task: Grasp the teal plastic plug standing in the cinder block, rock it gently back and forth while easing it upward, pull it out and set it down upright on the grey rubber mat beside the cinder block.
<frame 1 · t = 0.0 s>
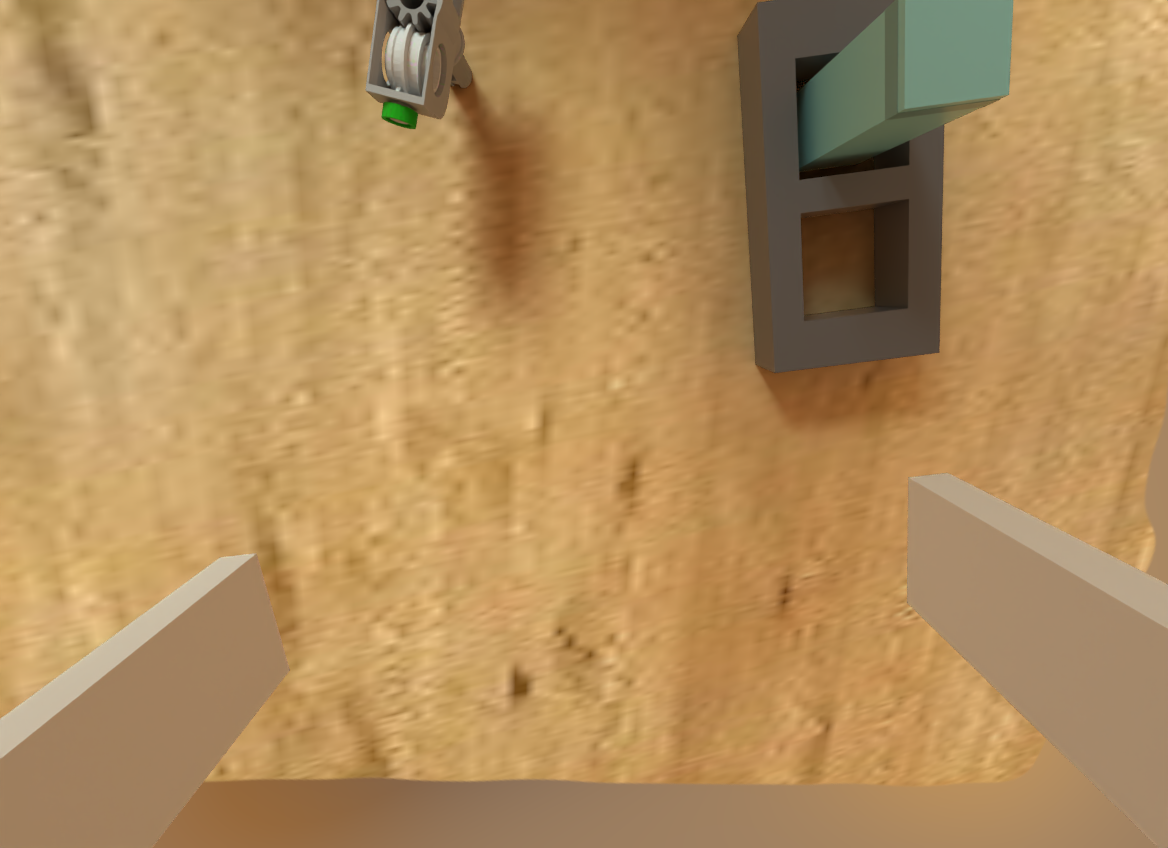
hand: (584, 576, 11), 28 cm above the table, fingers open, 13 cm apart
mechanical component: (459, 76, 34), on the table
plug: (823, 132, 35), resting in cinder block
cinder block: (825, 200, 36), on the table
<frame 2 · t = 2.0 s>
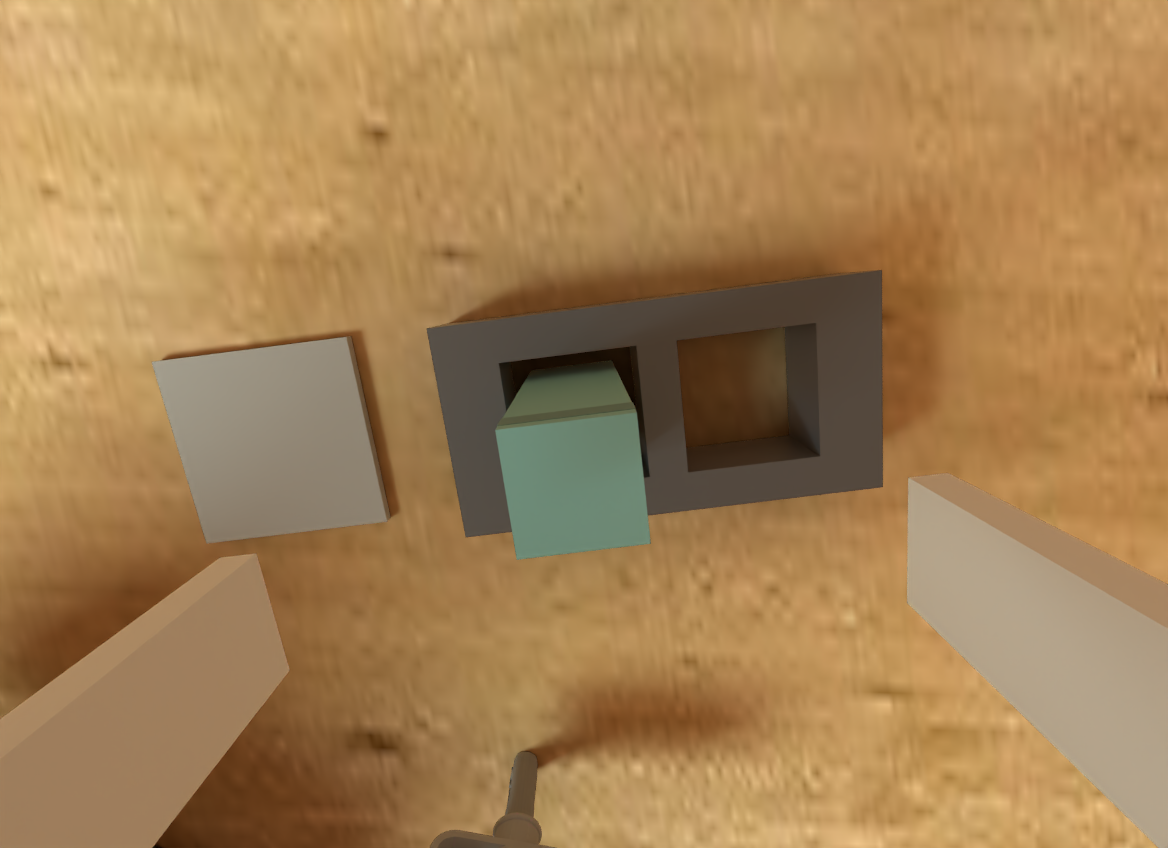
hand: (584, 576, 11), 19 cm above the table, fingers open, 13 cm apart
mechanical component: (526, 759, 35), on the table
plug: (576, 404, 30), resting in cinder block
cinder block: (651, 395, 30), on the table
mat: (279, 441, 30), on the table
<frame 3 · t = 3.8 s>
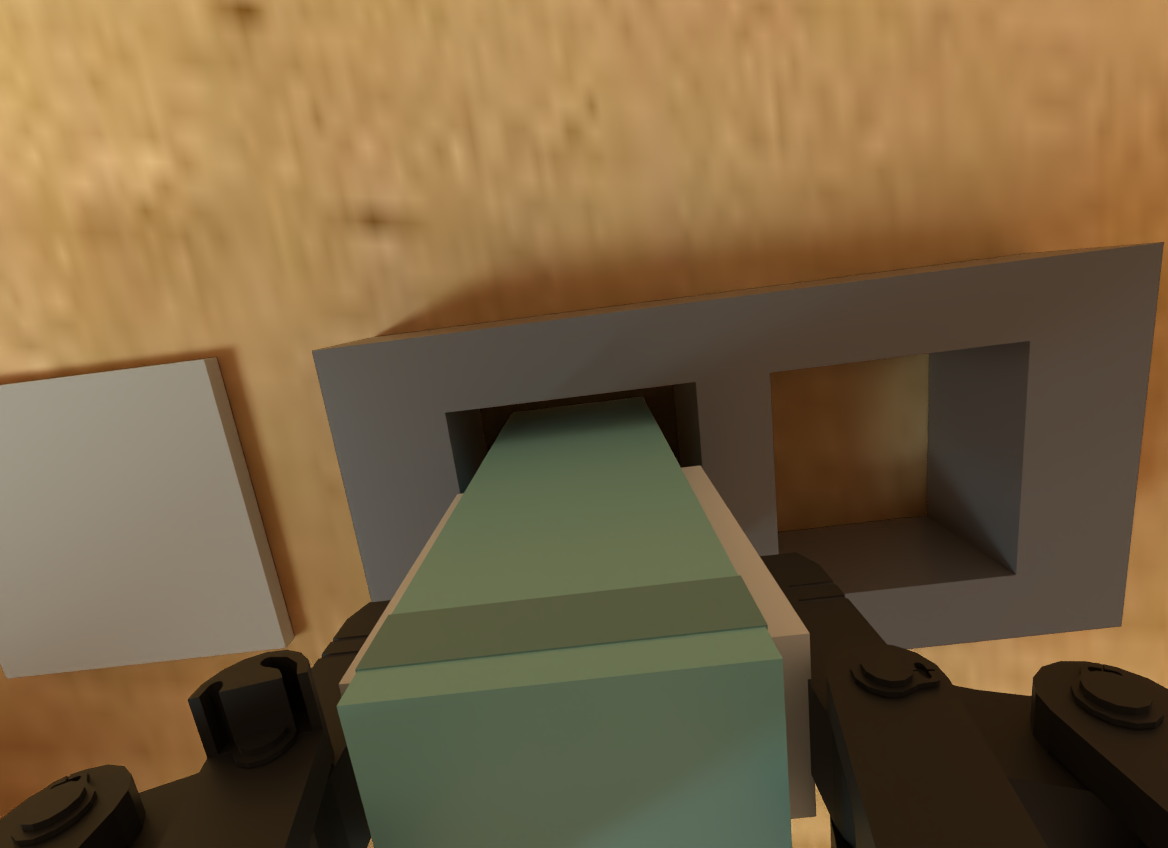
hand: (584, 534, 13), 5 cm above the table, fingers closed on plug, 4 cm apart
plug: (585, 466, 18), resting in cinder block, touching gripper
cinder block: (707, 452, 18), on the table
mat: (113, 523, 19), on the table
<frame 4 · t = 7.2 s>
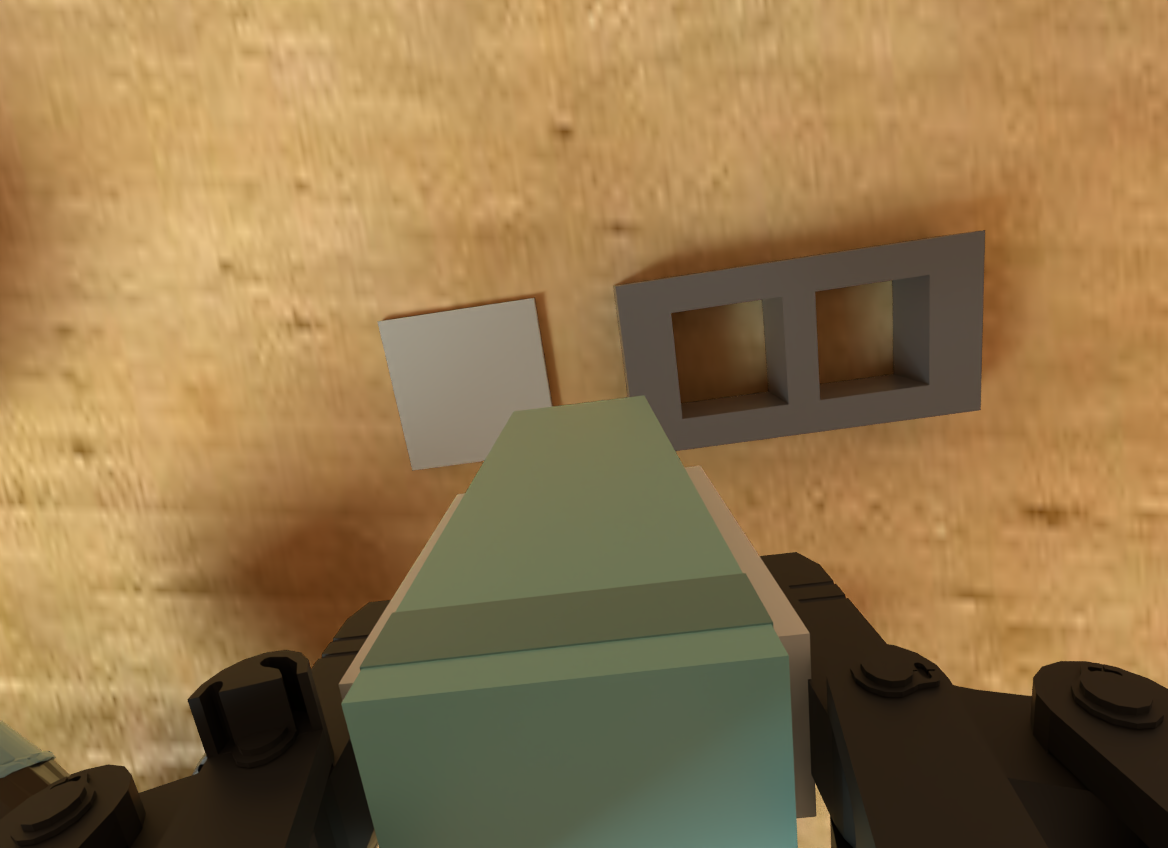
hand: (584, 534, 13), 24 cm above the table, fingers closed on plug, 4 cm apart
plug: (586, 465, 18), point 19 cm above the table, touching gripper
cinder block: (779, 342, 36), on the table
mat: (472, 386, 37), on the table
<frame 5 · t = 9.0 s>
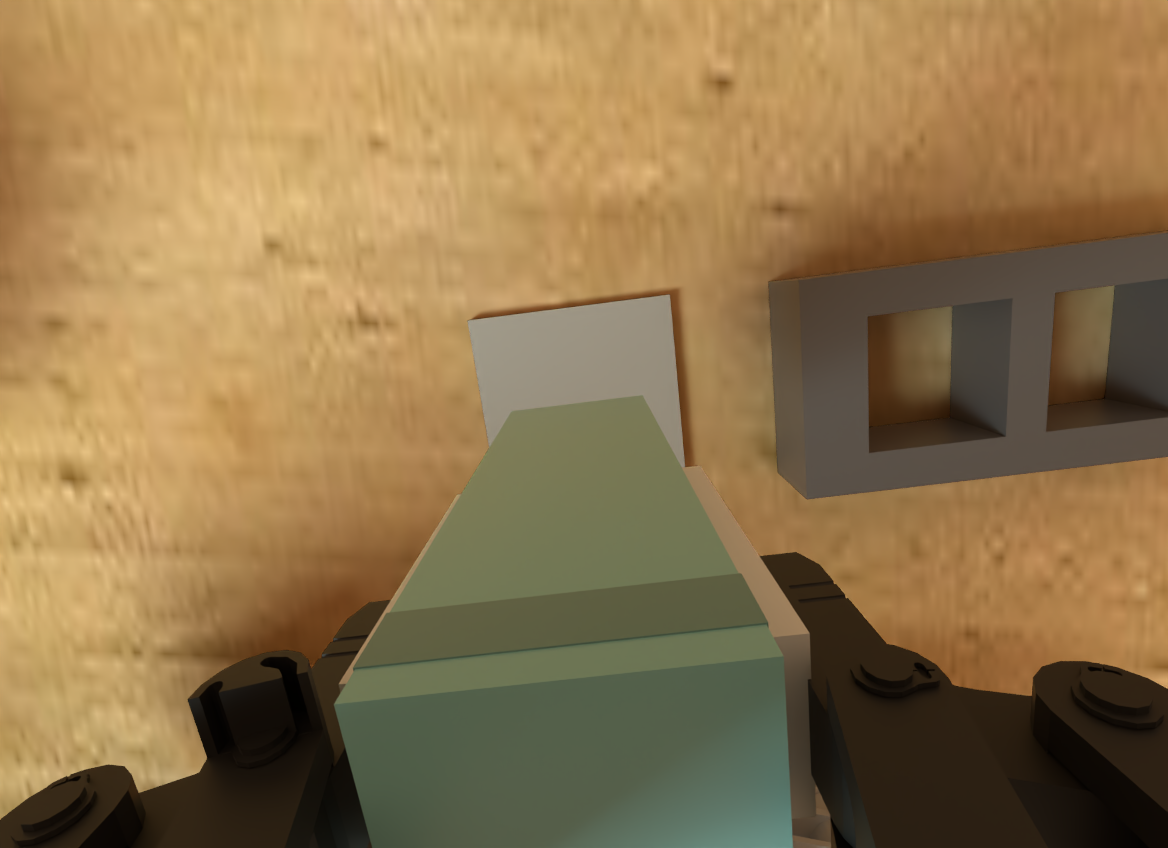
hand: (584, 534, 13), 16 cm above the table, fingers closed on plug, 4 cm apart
mechanical component: (789, 735, 34), on the table
plug: (584, 465, 18), point 11 cm above the table, touching gripper
cinder block: (969, 356, 29), on the table
mat: (581, 404, 29), on the table
when the fingers open (7 cm above the table, at t = 10.5 s): plug drops 2 cm, resting on mat.
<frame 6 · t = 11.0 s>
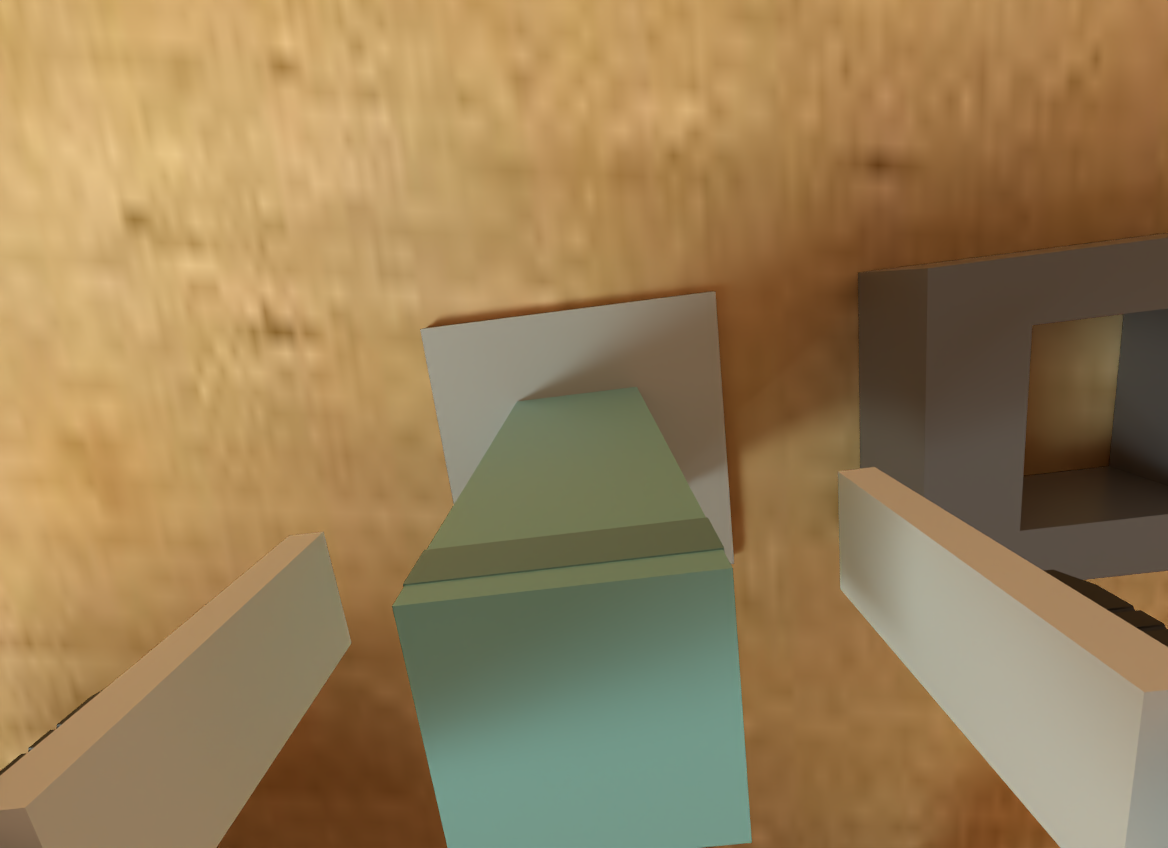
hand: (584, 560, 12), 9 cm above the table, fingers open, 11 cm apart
plug: (584, 451, 20), point 1 cm above the table, touching mat
cinder block: (1142, 380, 20), on the table
mat: (585, 447, 21), on the table
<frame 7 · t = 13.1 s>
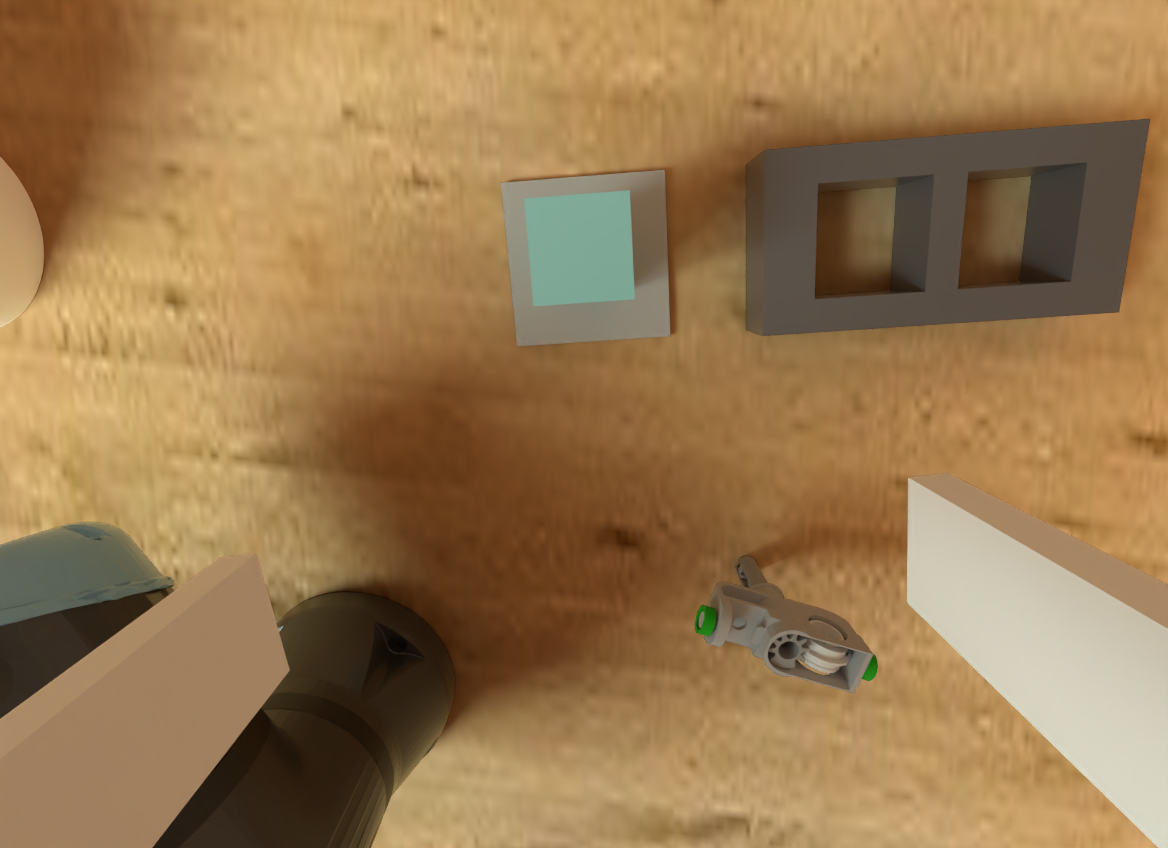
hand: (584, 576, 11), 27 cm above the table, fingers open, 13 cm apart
mechanical component: (745, 564, 41), on the table
plug: (587, 261, 35), point 1 cm above the table, touching mat
cinder block: (907, 238, 35), on the table
mat: (588, 262, 36), on the table
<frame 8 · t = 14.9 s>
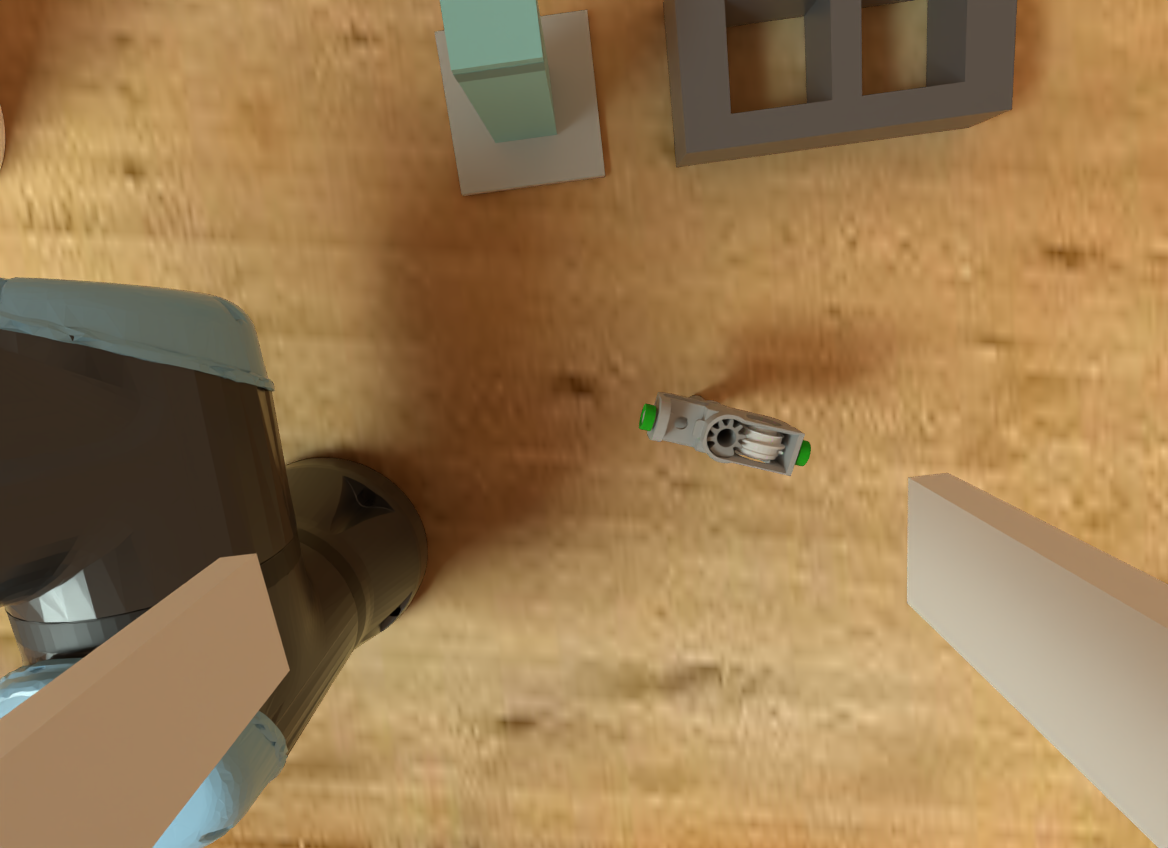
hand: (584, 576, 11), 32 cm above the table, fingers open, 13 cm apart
mechanical component: (695, 404, 43), on the table
plug: (521, 104, 37), point 1 cm above the table, touching mat
cinder block: (819, 66, 37), on the table
mat: (523, 108, 38), on the table
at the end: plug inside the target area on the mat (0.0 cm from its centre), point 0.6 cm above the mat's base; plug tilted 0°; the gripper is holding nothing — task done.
